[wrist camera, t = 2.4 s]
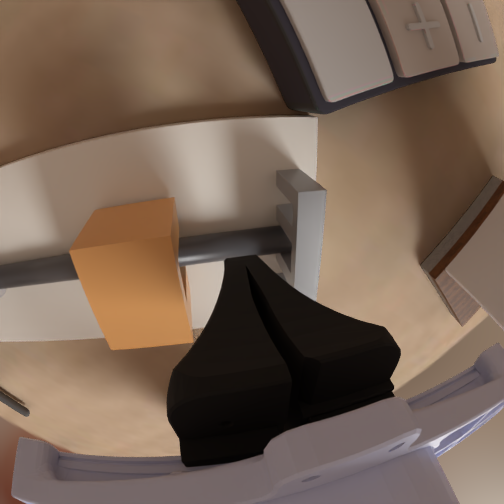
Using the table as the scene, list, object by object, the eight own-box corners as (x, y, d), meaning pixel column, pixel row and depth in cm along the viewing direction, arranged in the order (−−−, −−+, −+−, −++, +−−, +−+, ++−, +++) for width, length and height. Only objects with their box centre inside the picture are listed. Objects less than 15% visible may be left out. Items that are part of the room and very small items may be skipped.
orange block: (190, 290, 16) (193, 342, 13) (121, 298, 16) (111, 350, 12) (174, 197, 13) (170, 235, 10) (95, 209, 13) (68, 250, 9)
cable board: (301, 301, 20) (323, 346, 16) (-9, 333, 16) (-26, 370, 13) (310, 115, 14) (350, 126, 10) (-70, 197, 10) (-105, 225, 6)
